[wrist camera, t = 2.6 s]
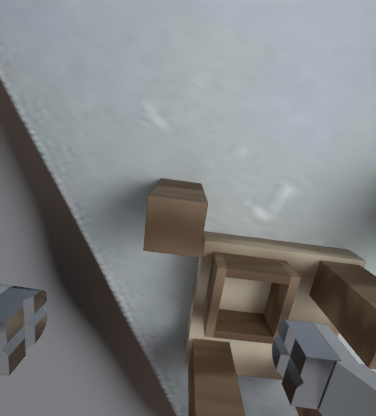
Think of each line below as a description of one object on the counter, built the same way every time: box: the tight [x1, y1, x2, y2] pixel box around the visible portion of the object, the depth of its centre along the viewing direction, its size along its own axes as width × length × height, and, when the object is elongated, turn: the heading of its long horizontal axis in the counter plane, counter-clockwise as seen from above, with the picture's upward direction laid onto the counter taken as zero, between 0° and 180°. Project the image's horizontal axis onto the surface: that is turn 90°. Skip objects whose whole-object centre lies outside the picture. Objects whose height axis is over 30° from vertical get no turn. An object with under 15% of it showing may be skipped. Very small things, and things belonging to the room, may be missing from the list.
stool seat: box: [183, 231, 376, 416], centre depth 22 cm, size 16×16×10 cm
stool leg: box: [143, 178, 208, 257], centre depth 20 cm, size 4×4×8 cm
